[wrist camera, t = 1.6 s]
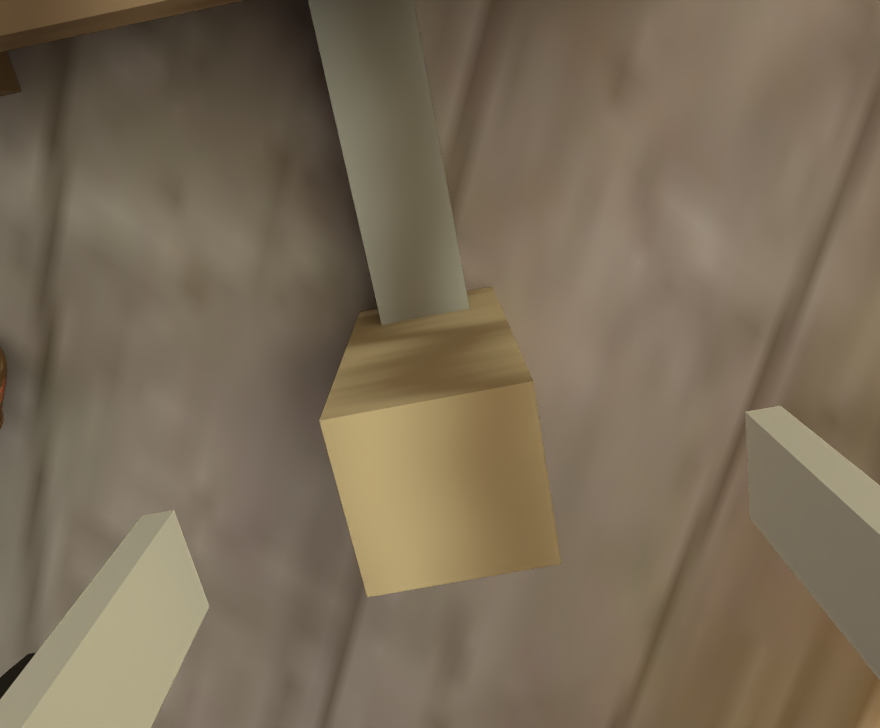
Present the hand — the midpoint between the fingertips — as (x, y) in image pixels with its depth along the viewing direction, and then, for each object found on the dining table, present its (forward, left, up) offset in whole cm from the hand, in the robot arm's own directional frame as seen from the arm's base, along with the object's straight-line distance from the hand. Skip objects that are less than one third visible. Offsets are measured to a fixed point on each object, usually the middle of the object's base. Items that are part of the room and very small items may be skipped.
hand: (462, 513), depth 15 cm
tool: (0, +8, -11) cm, 14 cm away
